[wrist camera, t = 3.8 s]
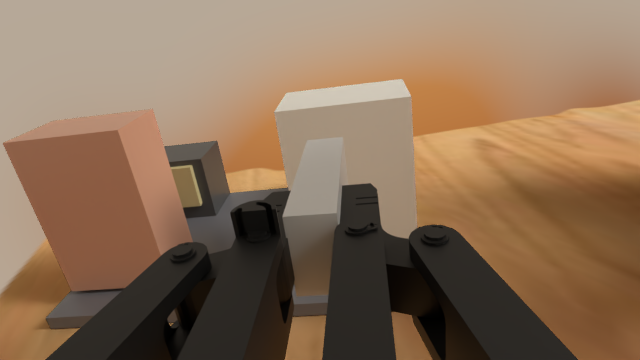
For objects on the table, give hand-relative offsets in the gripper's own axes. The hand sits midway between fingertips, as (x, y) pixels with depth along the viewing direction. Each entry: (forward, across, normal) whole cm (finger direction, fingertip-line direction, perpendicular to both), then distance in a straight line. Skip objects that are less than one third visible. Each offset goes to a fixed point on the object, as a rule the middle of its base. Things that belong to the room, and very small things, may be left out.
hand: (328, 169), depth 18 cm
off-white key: (+10, 0, -11) cm, 15 cm away
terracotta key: (+10, -17, -11) cm, 23 cm away
